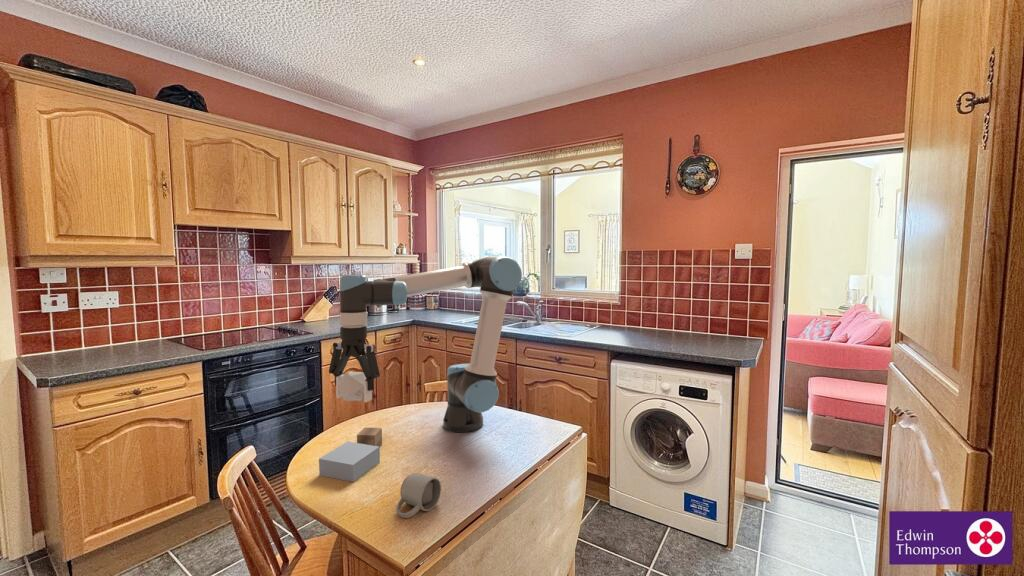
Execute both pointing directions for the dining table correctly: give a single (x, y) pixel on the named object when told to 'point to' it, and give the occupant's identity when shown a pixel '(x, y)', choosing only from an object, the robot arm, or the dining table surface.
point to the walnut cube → (370, 436)
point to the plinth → (349, 461)
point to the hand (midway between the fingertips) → (354, 398)
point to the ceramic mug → (419, 493)
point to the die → (352, 386)
